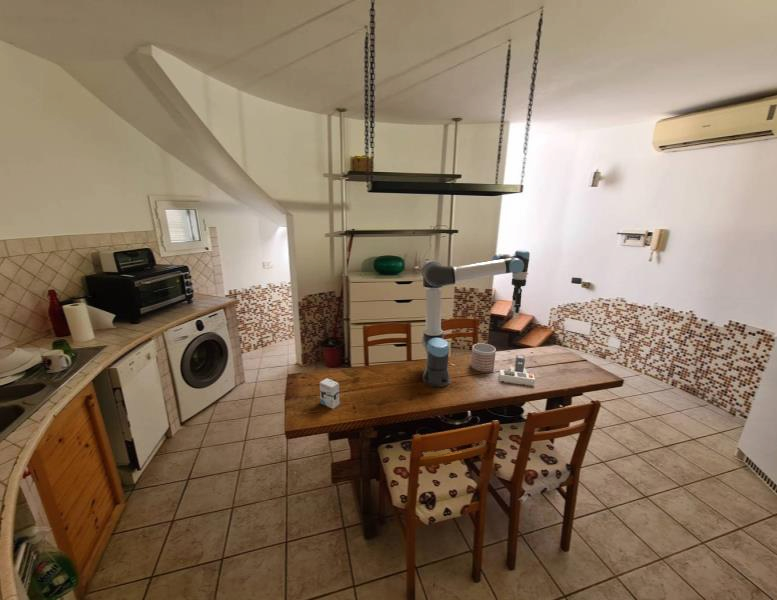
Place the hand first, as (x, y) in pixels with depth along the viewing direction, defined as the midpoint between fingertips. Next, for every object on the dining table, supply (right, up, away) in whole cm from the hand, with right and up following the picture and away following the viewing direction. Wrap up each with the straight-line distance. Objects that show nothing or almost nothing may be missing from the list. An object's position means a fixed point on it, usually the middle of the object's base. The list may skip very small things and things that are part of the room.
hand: (514, 314), depth 188 cm
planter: (-16, -33, +11) cm, 38 cm away
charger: (+5, -34, +6) cm, 35 cm away
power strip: (-1, -37, -4) cm, 38 cm away
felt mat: (+5, -34, +6) cm, 35 cm away
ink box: (-102, -43, -29) cm, 114 cm away
